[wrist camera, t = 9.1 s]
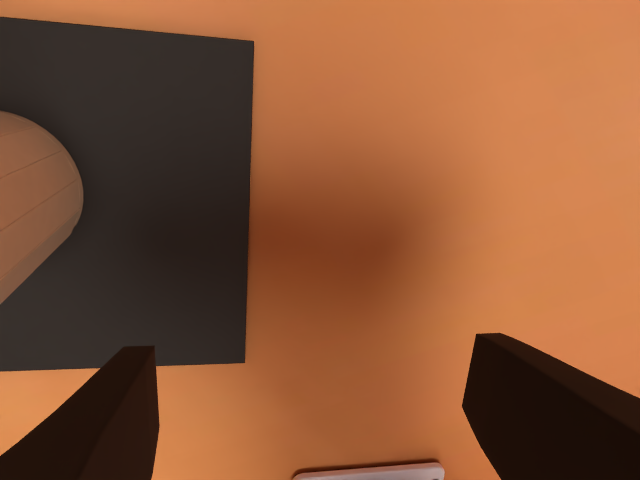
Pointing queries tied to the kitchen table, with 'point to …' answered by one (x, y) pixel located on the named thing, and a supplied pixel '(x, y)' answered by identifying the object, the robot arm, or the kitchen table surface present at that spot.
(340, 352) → the kitchen table surface
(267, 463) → the kitchen table surface
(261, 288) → the kitchen table surface
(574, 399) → the robot arm
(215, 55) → the placemat
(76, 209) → the cream cup
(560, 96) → the kitchen table surface
